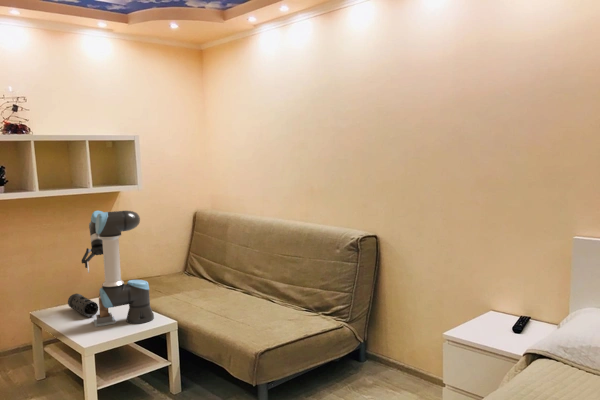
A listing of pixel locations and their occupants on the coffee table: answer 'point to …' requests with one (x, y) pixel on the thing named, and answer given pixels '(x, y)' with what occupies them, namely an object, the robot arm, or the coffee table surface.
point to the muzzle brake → (83, 305)
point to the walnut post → (102, 309)
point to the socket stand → (104, 320)
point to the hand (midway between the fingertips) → (100, 270)
